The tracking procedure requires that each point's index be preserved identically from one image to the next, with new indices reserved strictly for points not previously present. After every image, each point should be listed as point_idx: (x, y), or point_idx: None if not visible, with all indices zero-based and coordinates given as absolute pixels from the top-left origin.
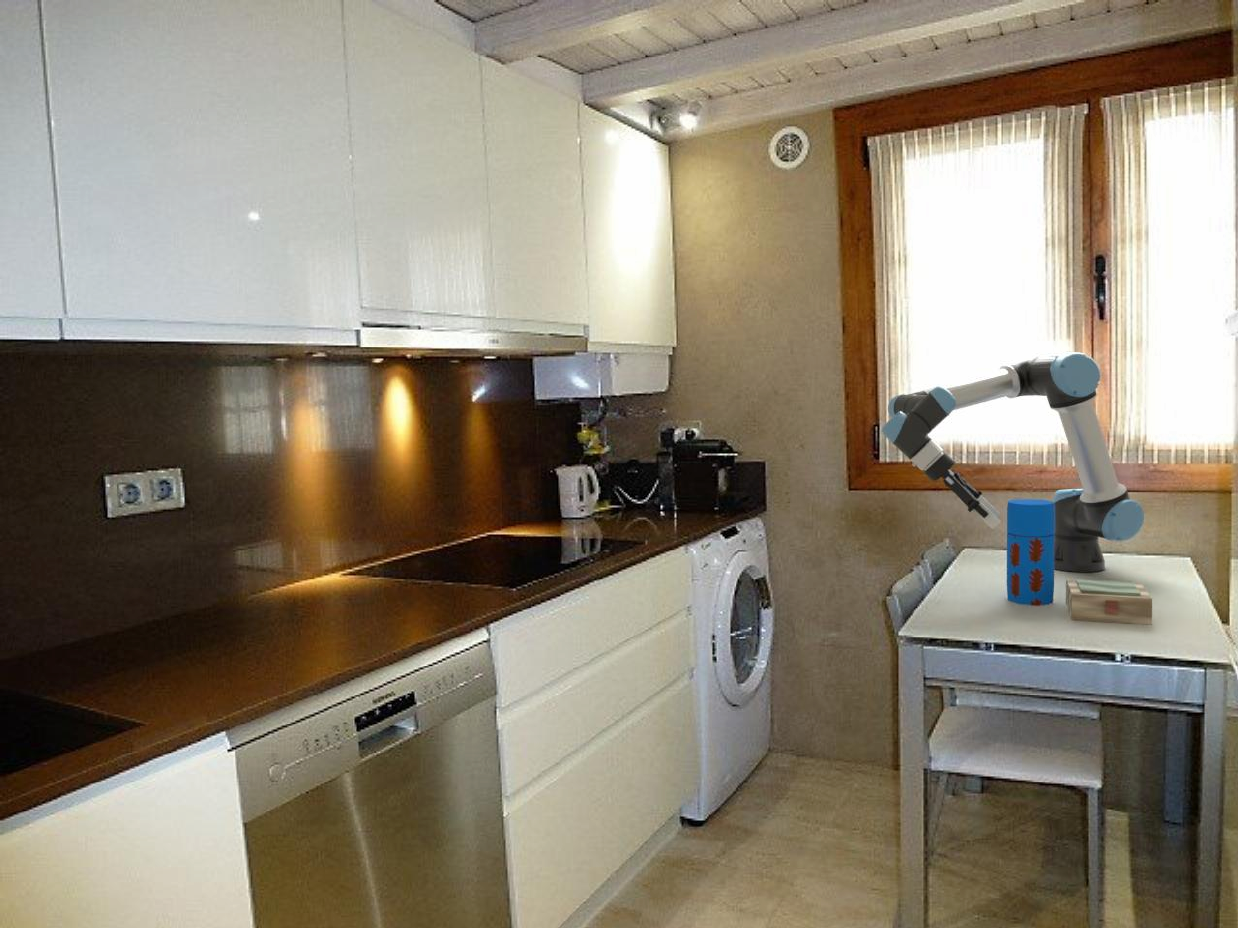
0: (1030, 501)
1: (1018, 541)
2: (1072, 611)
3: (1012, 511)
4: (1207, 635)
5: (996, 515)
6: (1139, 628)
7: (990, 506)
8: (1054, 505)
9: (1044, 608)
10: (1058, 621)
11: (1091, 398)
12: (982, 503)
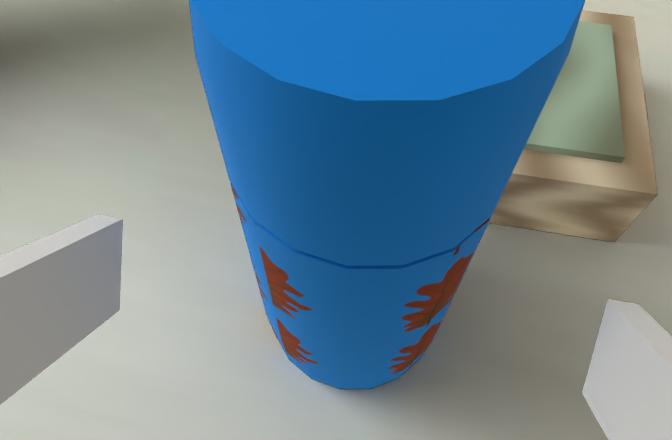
0: None
1: (474, 243)
2: (626, 226)
3: (484, 146)
4: (661, 10)
5: (118, 256)
6: (651, 108)
7: (57, 265)
8: None
9: (475, 288)
10: (651, 286)
11: None
12: (2, 336)
